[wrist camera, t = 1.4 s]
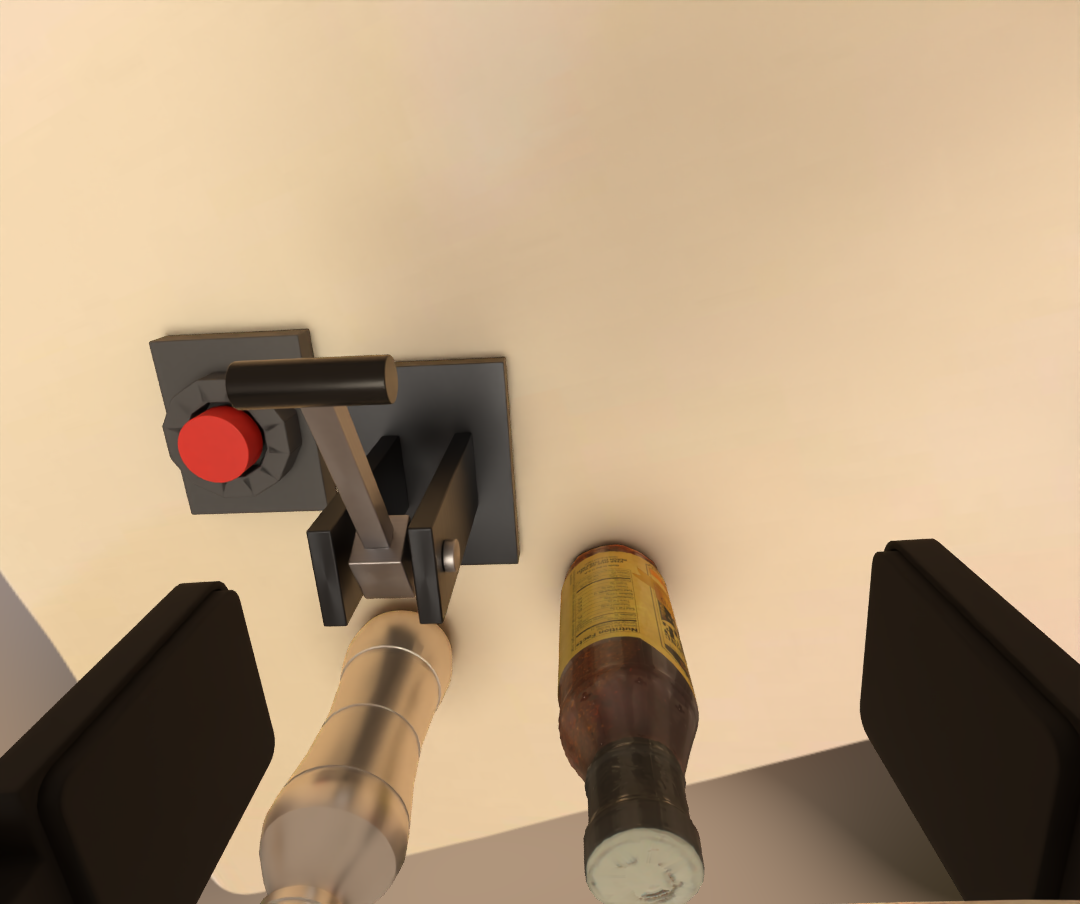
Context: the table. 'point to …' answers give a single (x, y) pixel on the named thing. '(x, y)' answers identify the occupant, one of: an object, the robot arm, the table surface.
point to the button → (220, 444)
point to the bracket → (430, 483)
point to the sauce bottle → (628, 728)
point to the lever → (339, 449)
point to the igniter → (288, 444)
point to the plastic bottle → (359, 770)
